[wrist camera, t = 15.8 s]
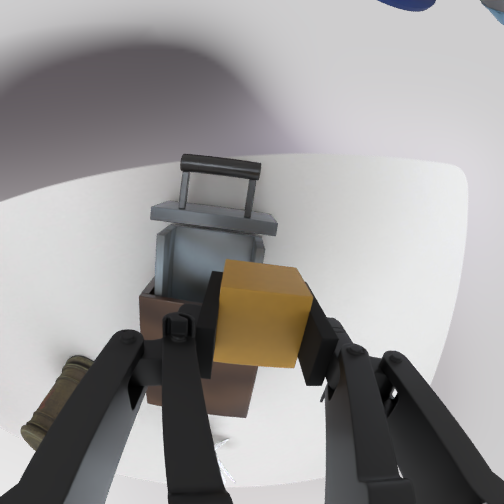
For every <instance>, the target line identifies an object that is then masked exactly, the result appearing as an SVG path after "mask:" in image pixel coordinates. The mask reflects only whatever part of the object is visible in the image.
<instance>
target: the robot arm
mask: <svg viewBox="0 0 504 504" xmlns="http://www.w3.org/2000/svg"><path fill="white" fill-rule="evenodd" d="M480 1H481V2H482V4H483V5H484V6H485V7H486V8H487V9H489V11H490V12H491V13H492V14H493V15H494V16H495V17H496V19H497V20H498V21H499V22H500V23H501V24H503V25H504V0H480ZM222 277H223V272H219V271H212V272H211V276H210V279H209V283H208V286H207V290H206V293H205V297H204V300H203V304H202V305H195V304H188V303H185V304H183V305H182V306H180V307H179V310H178V312H172V313H168V314H166V315H165V316H164V317H163V319H162V334H163V338H161V339H157V340H144V337H143V335H142V334H141V333H139V332H138V331H135V330H129V329H127V330H121V331H118V332H116V333H115V334H114V335H113V336H112V338H111V339H110V340H109V342H108V343H107V344H106V346H105V347H104V348H103V350H102V351H101V353H100V354H99V355H98V357H97V358H96V360H95V361H94V362H93V364H92V365H91V367H90V368H89V369H88V371H87V372H86V374H85V375H84V377H83V378H82V379H81V381H80V382H79V384H78V385H77V387H76V388H75V390H74V391H73V393H72V394H71V396H70V397H69V399H68V400H67V402H66V403H65V405H64V406H63V408H62V409H61V411H60V413H59V414H58V416H57V417H56V419H55V420H54V422H53V424H52V425H51V427H50V428H49V430H48V432H47V433H46V435H45V437H44V438H43V440H42V442H41V443H40V445H39V447H38V448H37V450H36V452H35V454H34V456H33V457H32V459H31V461H30V463H29V464H28V466H27V468H26V470H25V472H24V474H23V476H22V478H21V480H20V481H19V483H18V484H17V485H15V486H14V487H13V488H11V489H10V490H9V491H7V492H6V493H5V494H3V495H2V496H1V497H0V504H105V501H106V498H107V495H108V492H109V489H110V486H111V483H112V480H113V477H114V474H115V472H116V469H117V466H118V463H119V460H120V458H121V455H122V452H123V449H124V447H125V444H126V441H127V439H128V436H129V434H130V431H131V428H132V426H133V423H134V421H135V418H136V415H137V413H138V410H139V408H140V405H141V403H142V400H143V398H144V395H145V393H146V391H147V388H148V386H162V422H163V441H164V456H165V467H166V478H167V487H168V504H233V502H232V499H231V497H230V494H229V493H228V492H227V491H226V490H225V487H224V484H223V480H222V476H221V472H220V468H219V464H218V460H217V456H216V452H215V447H214V443H213V438H212V434H211V429H210V424H209V420H208V415H207V410H206V404H205V399H204V394H203V388H202V382H201V378H204V379H211V373H212V365H213V358H214V350H215V341H216V331H217V321H218V311H219V297H220V288H221V282H222ZM305 283H306V282H305ZM306 285H307V287H308V289H309V290H310V292H311V294H312V295H313V293H312V291H311V289H310V288H309V286H308V284H307V283H306ZM298 359H299V362H300V366H301V369H302V372H303V376H304V379H305V382H306V386H322V384H323V381H324V378H325V377H326V380H327V382H328V383H327V385H326V388H325V390H324V393H323V395H322V397H321V400H320V402H322V401H323V399H324V398H325V415H326V484H325V485H326V486H325V504H504V481H503V480H502V479H501V478H500V477H498V476H497V475H496V474H495V473H493V472H492V471H491V469H490V468H489V466H488V465H487V463H486V462H485V460H484V459H483V457H482V456H481V454H480V453H479V451H478V450H477V449H476V447H475V446H474V444H473V443H472V441H471V440H470V439H469V437H468V436H467V435H466V433H465V432H464V430H463V429H462V428H461V426H460V425H459V424H458V422H457V421H456V420H455V418H454V417H453V416H452V415H451V413H450V412H449V410H448V409H447V408H446V406H445V405H444V404H443V402H442V401H441V400H440V399H439V397H438V396H437V395H436V393H435V392H434V391H433V390H432V388H431V387H430V386H429V385H428V383H427V382H426V381H425V380H424V378H423V377H422V376H421V375H420V373H419V372H418V371H417V370H416V368H415V367H414V366H413V365H412V364H411V362H410V361H409V360H408V359H407V358H406V357H405V356H404V355H403V354H401V353H400V352H397V351H386V352H385V353H384V355H383V357H382V359H381V358H376V357H371V356H369V355H368V352H367V350H366V349H365V348H363V347H362V346H360V345H357V344H353V342H352V341H351V339H350V338H349V336H348V334H347V333H346V331H345V330H344V329H343V326H342V325H341V323H340V322H339V321H337V320H336V319H335V318H328V317H326V315H325V314H324V312H323V310H322V308H321V307H320V305H319V303H318V301H317V300H316V298H315V296H314V295H313V301H312V305H311V309H310V312H309V316H308V320H307V324H306V327H305V331H304V335H303V338H302V342H301V346H300V349H299V353H298ZM394 389H396V391H397V392H398V393H397V395H396V397H395V398H394V397H393V396H392V393H393V391H394ZM397 465H398V466H397ZM398 467H399V469H400V471H401V474H402V476H403V478H401V477H400V475H399V472H398Z"/></svg>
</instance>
